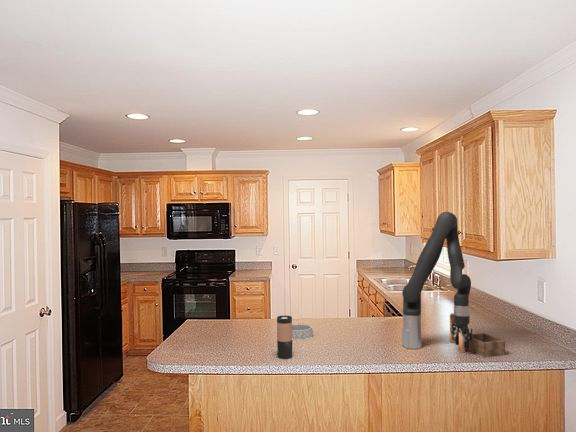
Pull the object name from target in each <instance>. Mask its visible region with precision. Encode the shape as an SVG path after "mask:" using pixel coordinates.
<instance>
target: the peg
mask: <svg viewBox="0 0 576 432" xmlns="http://www.w3.org/2000/svg"><path fill="white" fill-rule="evenodd" d="M458 353H460V354H465V353H466V349H465V348H464V338H463V337H462V335H461V333H460V332H459V345H458Z"/></svg>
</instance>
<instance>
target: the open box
mask: <svg viewBox="0 0 576 432" xmlns="http://www.w3.org/2000/svg"><path fill="white" fill-rule="evenodd" d="M469 338H470V336H469ZM466 350H467V351H469V352H472V353H474V354H476V355H478V356H481V357H482V358H490V357H491V358H492V357H500V356H501V357H502V356H506V341H505V340H504V339H500V338H498V337H495V336H492V335H491V334H488V333H485V332H484V333H483V332H481V333H472V341H469V349H466Z"/></svg>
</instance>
